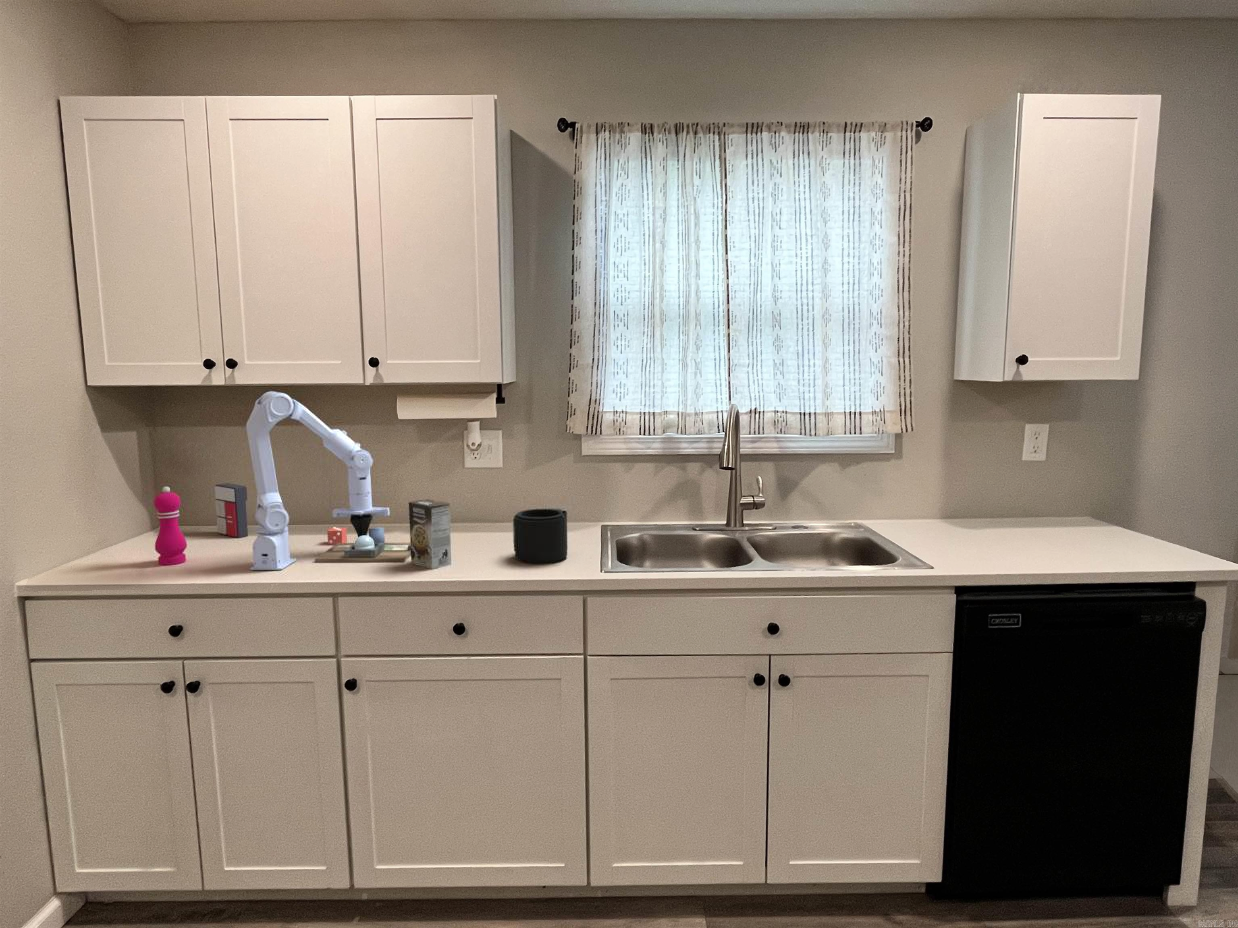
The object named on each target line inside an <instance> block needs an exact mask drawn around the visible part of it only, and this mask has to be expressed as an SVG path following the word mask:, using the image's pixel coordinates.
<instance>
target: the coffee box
mask: <svg viewBox="0 0 1238 928" xmlns="http://www.w3.org/2000/svg"><path fill="white" fill-rule="evenodd" d="M450 505H451V504H450V502H444V501H440V500H434V499H430V498H427V499H418V500H413V501H408V516H409V517H408V519H409V540H410V542H409V543H410V544H411V556H410V560H411V561H410V562H411V564H413V565H417V566H420V567H424V568H427V569H432V570H435V569H439V568H442V567H446V566H450V565H452V547H451V546H452V545H451V544H452V543H451V506H450Z"/></svg>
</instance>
